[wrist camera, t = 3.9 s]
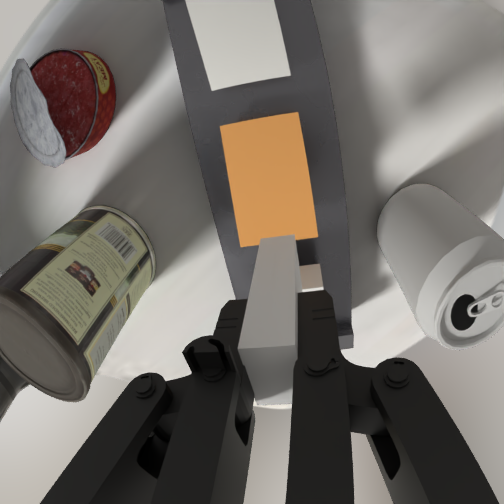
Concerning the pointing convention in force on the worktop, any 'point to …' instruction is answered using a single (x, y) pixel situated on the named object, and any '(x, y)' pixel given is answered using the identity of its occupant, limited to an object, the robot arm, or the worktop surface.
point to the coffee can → (73, 300)
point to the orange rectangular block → (269, 178)
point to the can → (444, 265)
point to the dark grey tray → (264, 105)
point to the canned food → (62, 103)
